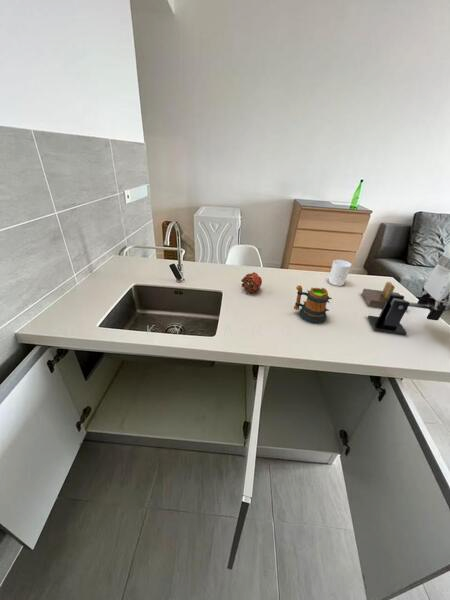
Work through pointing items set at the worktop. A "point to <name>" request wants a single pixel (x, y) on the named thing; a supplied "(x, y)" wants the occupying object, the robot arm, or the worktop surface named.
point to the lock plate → (375, 298)
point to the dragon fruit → (252, 282)
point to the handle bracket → (390, 316)
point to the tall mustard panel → (387, 289)
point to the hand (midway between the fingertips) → (426, 312)
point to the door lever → (424, 305)
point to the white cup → (339, 272)
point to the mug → (313, 304)
